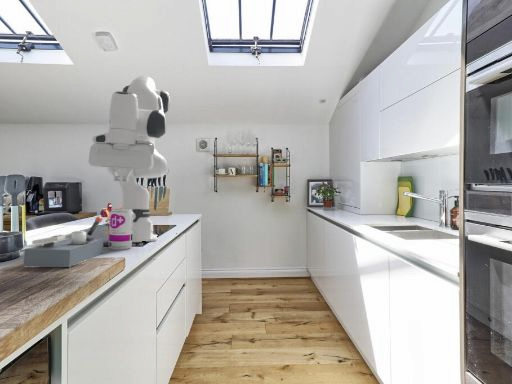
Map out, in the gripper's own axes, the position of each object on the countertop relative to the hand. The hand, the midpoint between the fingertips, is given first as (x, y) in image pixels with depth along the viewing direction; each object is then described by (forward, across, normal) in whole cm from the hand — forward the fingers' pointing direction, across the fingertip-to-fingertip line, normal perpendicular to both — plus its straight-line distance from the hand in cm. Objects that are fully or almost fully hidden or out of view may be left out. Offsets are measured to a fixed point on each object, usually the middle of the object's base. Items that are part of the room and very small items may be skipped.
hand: (121, 181), depth 104 cm
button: (+20, +10, +6) cm, 23 cm away
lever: (+19, +10, 0) cm, 21 cm away
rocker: (+18, +16, +12) cm, 27 cm away
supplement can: (+25, +5, -16) cm, 30 cm away
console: (+25, +13, +6) cm, 29 cm away
